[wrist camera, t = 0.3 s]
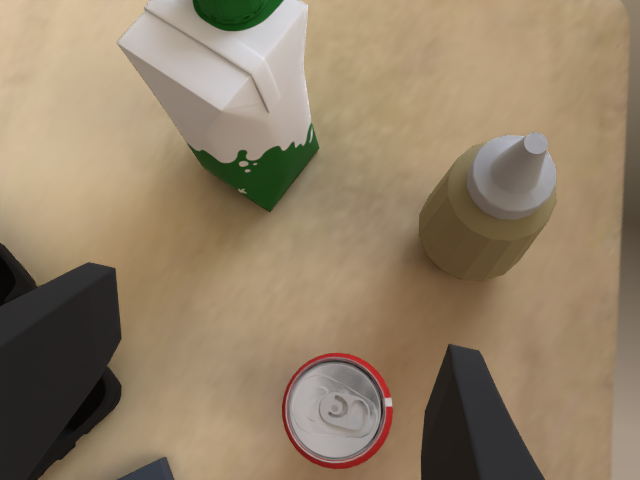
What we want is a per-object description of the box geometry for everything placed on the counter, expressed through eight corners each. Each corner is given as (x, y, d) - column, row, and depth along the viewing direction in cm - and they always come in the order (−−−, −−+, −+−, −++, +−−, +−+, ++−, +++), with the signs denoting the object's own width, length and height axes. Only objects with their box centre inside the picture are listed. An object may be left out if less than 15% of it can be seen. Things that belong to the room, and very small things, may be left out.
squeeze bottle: (406, 200, 45) (440, 81, 28) (503, 188, 45) (598, 61, 28) (421, 296, 43) (468, 231, 26) (523, 284, 43) (640, 211, 25)
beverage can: (363, 468, 40) (370, 511, 25) (288, 420, 41) (254, 435, 26) (402, 395, 41) (430, 397, 27) (327, 351, 42) (315, 329, 28)
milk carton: (334, 146, 47) (321, -26, 28) (271, 228, 45) (211, 106, 26) (254, 95, 49) (190, -100, 29) (190, 172, 47) (78, 20, 28)
